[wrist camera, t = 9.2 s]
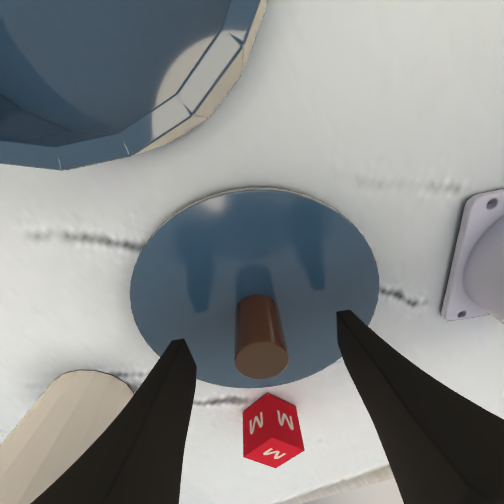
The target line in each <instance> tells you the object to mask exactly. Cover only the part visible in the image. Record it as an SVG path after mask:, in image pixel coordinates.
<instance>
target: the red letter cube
mask: <svg viewBox="0 0 504 504" xmlns="http://www.w3.org/2000/svg"><path fill="white" fill-rule="evenodd" d="M303 451H304V445H303V440H302V435H301V430H300V425H299V420H298V416H297V411H296V406H294V405H292V404H289V403H287V402H285V401H283V400H281V399H279V398H277V397H275V396H273V395H270V394H268V393H267V394H265V395H264V396H263V397H262V398H260V399H259V400H258V401H257V402H255V403H254V404H253V405H251V406H250V407H249V408H248V409H246V410H245V411H244V412H243V456H244V457H245V458H248V459H250V460H253V461H256V462H259V463H262V464H265V465H268V466H271V467H274V468H277V467H278V466H280V465H282V464H283V463H285V462H287V461H288V460H290V459H291V458H293V457H295V456H296V455H298V454H300V453H301V452H303Z"/></svg>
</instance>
